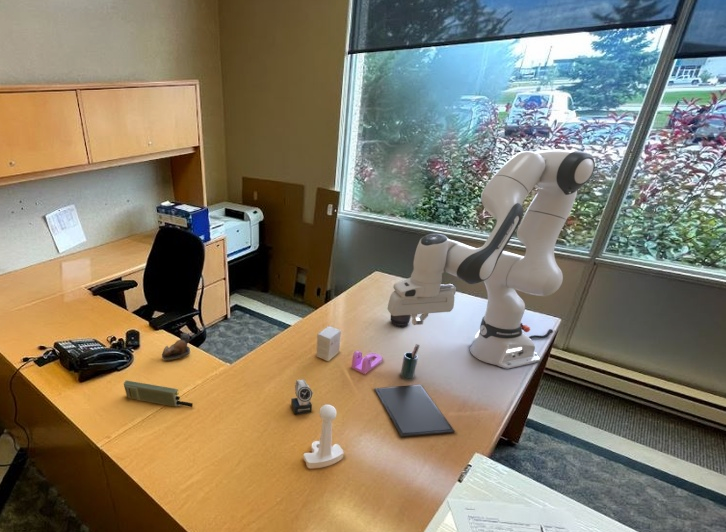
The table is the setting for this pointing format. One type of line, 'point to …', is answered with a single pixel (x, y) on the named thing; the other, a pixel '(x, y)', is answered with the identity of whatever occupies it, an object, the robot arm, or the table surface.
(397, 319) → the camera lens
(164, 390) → the handheld radio
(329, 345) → the small box
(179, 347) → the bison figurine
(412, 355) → the stylus
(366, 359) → the bracket
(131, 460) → the table surface
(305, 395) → the watch
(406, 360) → the pen cup
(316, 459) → the joystick
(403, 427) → the tablet
